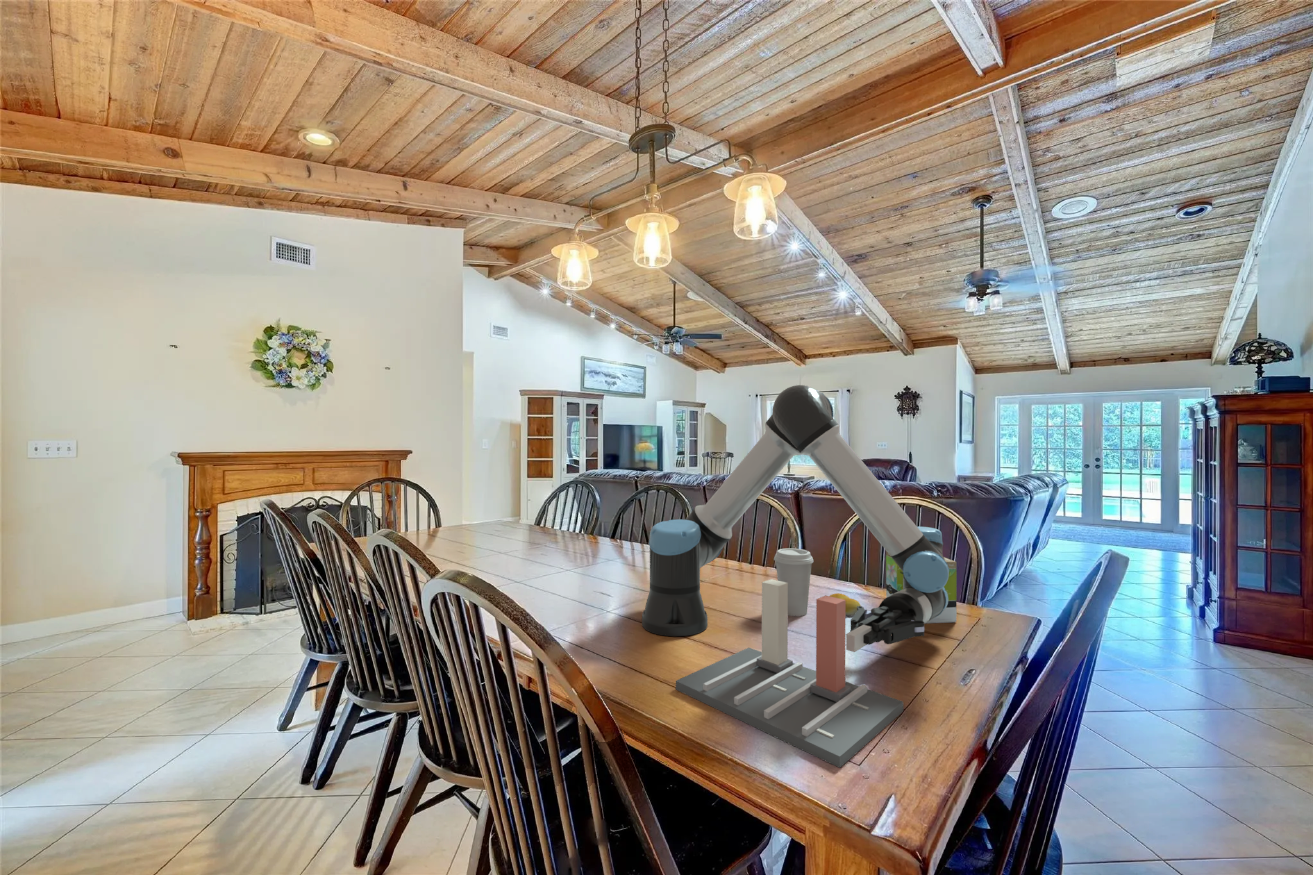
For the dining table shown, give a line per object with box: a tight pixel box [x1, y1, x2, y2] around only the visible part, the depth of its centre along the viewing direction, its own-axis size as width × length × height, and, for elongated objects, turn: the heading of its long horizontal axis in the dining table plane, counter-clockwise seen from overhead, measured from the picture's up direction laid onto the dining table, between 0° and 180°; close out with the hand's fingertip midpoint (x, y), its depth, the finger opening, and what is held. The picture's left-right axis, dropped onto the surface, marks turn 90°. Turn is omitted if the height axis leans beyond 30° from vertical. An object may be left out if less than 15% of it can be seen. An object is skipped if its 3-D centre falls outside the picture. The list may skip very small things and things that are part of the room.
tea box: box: [885, 550, 958, 624], centre depth 132 cm, size 15×10×15 cm, turn 5°
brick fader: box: [810, 595, 851, 702], centre depth 87 cm, size 5×4×15 cm
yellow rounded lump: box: [829, 592, 862, 617], centre depth 134 cm, size 8×9×4 cm
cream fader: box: [757, 578, 794, 673], centre depth 97 cm, size 5×4×15 cm
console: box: [675, 647, 904, 769], centre depth 88 cm, size 30×21×2 cm
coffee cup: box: [773, 548, 814, 617], centre depth 132 cm, size 10×10×15 cm
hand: (850, 642), depth 91 cm, fingers closed
